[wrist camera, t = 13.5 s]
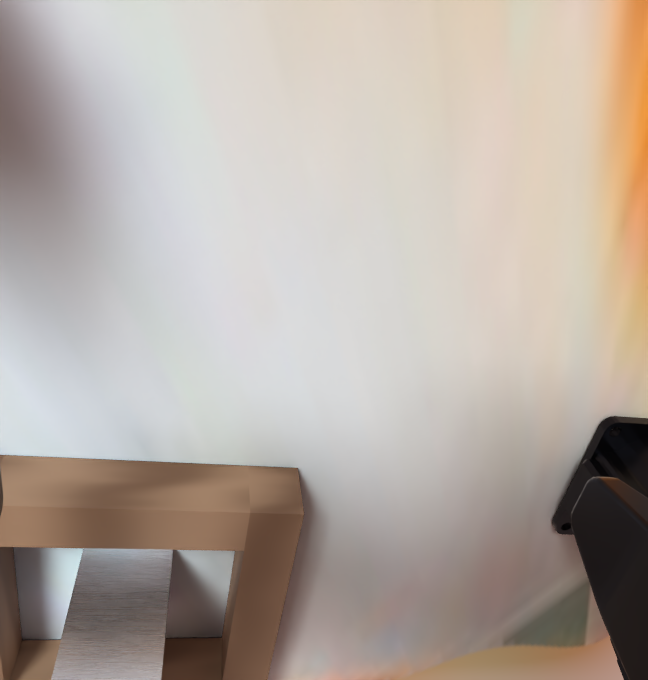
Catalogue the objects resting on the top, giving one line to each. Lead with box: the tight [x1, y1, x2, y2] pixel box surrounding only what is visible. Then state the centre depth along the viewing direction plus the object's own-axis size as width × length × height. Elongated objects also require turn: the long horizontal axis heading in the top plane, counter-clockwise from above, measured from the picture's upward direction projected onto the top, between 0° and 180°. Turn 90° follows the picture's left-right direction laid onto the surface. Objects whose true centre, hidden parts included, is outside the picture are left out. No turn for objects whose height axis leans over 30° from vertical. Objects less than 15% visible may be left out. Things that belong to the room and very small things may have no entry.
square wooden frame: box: [0, 455, 304, 680], centre depth 26 cm, size 13×13×2 cm
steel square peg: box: [51, 548, 173, 680], centre depth 24 cm, size 4×4×7 cm
